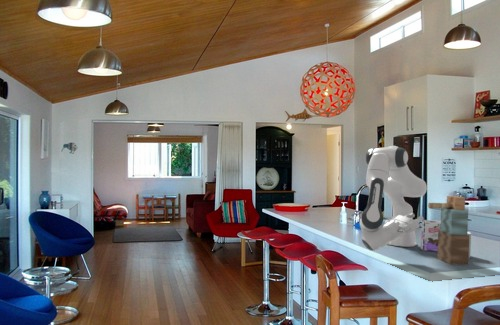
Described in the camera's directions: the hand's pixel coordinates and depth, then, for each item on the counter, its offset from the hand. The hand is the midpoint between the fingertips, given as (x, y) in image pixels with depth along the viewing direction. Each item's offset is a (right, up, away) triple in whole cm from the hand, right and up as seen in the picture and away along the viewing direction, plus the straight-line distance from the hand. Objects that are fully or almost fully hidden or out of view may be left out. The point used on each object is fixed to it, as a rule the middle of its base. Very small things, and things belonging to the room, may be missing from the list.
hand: (418, 215), depth 236 cm
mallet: (+14, +3, +1) cm, 14 cm away
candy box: (+19, -23, +29) cm, 41 cm away
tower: (+18, -23, +2) cm, 29 cm away
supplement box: (+28, -23, +15) cm, 40 cm away
